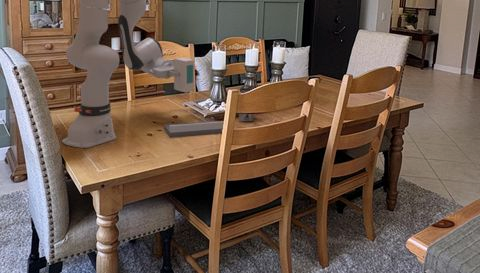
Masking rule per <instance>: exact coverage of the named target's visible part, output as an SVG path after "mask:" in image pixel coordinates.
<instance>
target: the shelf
mask: <svg viewBox="0 0 480 273" xmlns="http://www.w3.org/2000/svg"><path fill="white" fill-rule="evenodd" d="M224 121H225V120H224ZM224 121H219V120H209V121H207V120H206V121H193V122H192V121H191V122H183V123H182V122H181V123H179V122H178V123H169V124H168V123H166V124H164V125H163V126H164V127H163V128H164V131H165V132H166V133H167V135H168V136H169V138H177V137H186V136H187V137H188V136H200V135H212V134H223V133H222V129H223V122H224Z"/></svg>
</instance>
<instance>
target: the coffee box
mask: <svg viewBox="0 0 480 273" xmlns="http://www.w3.org/2000/svg"><path fill="white" fill-rule="evenodd" d="M254 88H256V89H257V85H253V84H252V85H251V84H244V85H242V86H241V87H240V88H239V93H240V92H241V93H244V92H247V91H250V90H252V89H254ZM238 116H239V117H238V121H239V120H241V121H252V120H253V121H254V119H255V118H256V113H255V114H238ZM254 117H255V118H254ZM253 118H254V119H253ZM241 121H240V122H241ZM253 121H252V122H253Z"/></svg>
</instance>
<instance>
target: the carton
mask: <svg viewBox="0 0 480 273" xmlns="http://www.w3.org/2000/svg"><path fill="white" fill-rule="evenodd" d="M173 60H174V72H180V76H179V77H176V76H173V90H175V91H179V92H183V93H185V94H186V93H191V92H195V60H194V59H192V58H187V57H184V56H182V57H175V58H173Z"/></svg>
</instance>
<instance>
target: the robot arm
mask: <svg viewBox="0 0 480 273" xmlns="http://www.w3.org/2000/svg"><path fill="white" fill-rule="evenodd" d="M109 2H110V1H109V0H79V11H78V12H79V13H78V14H79V15H78V27H77V31H76V35H75V37H74V39H73V42H71V43H70V44H69V45H68V47H67V48H66V51H65V56H66V57H65V58H66V59H67V62H68V63H70V65H73V67H76V68H78V69H82V70H86V72H87V73H86V78H85V81H84V80H83V82H82V83H81V84H80V102H81V103H80V106H79V107H78V106H75V107H74V109H73V111H74V112H75V113H78V115H77V116H76V117H75V119H74V120H73V121H72V122H71V124H70V125H69V126H68V129H67V137H65V138H63V139H62V140H61V141H62V143H63V144H64V145H67V146H69V147H73V148H83V149H85V148H86V149H88V148H92V147H94V146H98V145H101V144H104V143H107V142H111V141H114V140H116V139H117V136H116V133H115V131H114V124H113V119H112V116H111V111H112V110H111V107H112V106H111V102H110V99H109V98H110V96H109V95H110V94H109V90H110V89H109V86H110V85H109V84H110V80H111V77H112V75H113V73H114V72H115V71H116V70H118V67H119V65H120V56H119V53H118V51H117V50H115V49H114V48H112V47H110V46H107V45H104V44H100V40H101V38H102V36H103V34H105V33H106V32H107V30H108V29H109V9H110V7H109V6H110V4H109ZM118 2H119V8H120V12H119V16H118V18H117V25H118V31H119V32H118V33H119V37H120V42H121V47H122V60H123V63H124V65H125V67H126V68H128V69H129V70H132V71H139V70H142V71H143V72H144V73H146V74H147V75H151V76H152V77H154V78H157V79H161V80H162V79H165V80H168V79H170V78H172V77H173V78H174V76H176V77H179V76H180V72H174V59H168V58H163V56H164V55H163V54H164V53H163V52H164V51H163V48H162V44H161V43H160V41H158V40H157V39H155V38H153V37H146V38H145V39H143V40H141V41H139V43H136V44H135V43H134V36H133V31H134V28H135V26H136V25H137V23H138V22H140V21H139V20H140V19H141V18H142V17H143V16H144V15H145V12H146V10H147V0H118Z"/></svg>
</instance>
